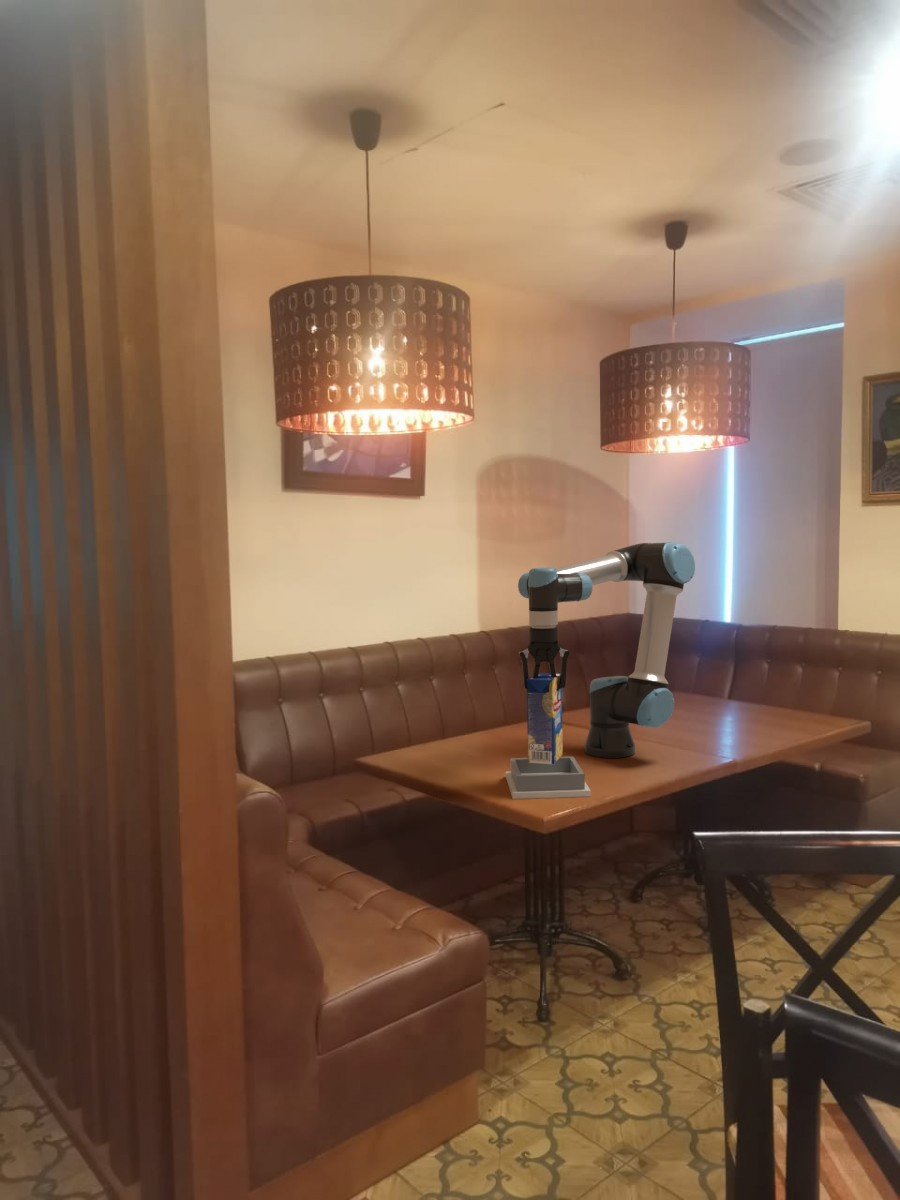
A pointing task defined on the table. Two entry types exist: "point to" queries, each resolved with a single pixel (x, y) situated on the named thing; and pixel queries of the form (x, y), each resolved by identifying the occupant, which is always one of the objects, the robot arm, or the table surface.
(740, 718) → the table surface
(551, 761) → the beverage box
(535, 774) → the holder
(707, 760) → the table surface
